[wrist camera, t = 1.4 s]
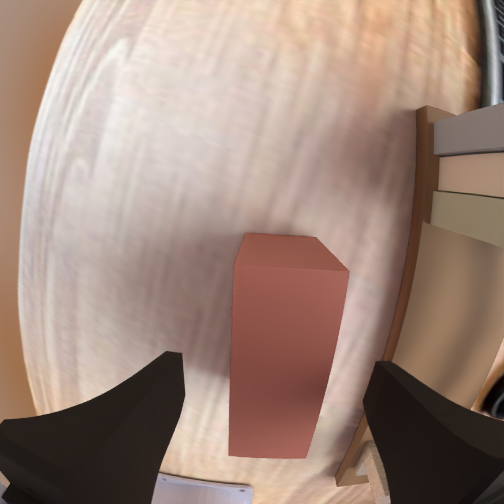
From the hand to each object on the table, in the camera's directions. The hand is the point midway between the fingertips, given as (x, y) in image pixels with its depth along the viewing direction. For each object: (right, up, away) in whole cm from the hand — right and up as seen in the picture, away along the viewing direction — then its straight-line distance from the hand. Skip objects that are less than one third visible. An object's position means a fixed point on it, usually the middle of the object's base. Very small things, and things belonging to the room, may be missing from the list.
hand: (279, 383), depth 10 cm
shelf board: (+12, -2, +6) cm, 13 cm away
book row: (+13, +8, +2) cm, 15 cm away
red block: (0, +1, +6) cm, 6 cm away
